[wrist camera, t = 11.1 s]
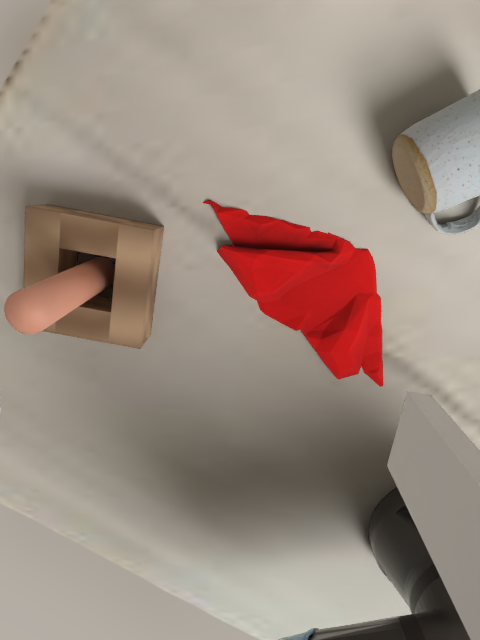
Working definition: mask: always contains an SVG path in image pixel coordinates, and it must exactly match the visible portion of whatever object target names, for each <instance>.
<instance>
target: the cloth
mask: <svg viewBox="0 0 480 640" xmlns="http://www.w3.org/2000/svg"><path fill="white" fill-rule="evenodd" d="M203 203H206V204H211V206H212V207H213V208H214V210H215V212H216V214H217V216H218V218H219V220H220V222H221V224H222V225H223V227H224V229H225V231H226V233H227V234H228V236H229V238H230V239H231V241H232V242H233V244H234V245H235V246H232V245H224V246H222V247H221V248H220V249H219V250H218V251H217V252H218V253H219V255H220V256H221V257H222V258H223V260H224V261H225V262H226V263H227V264H228V266H229V267H230V268H231V270H232V271H233V273H234V274H235V276H236V277H237V279H238V280H239V282H240V283H241V285H242V286H243V287H244V289H245V290H246V292H247V293H248V295H249V296H250V297H252V298H253V299H255V300H257V302H258V305H259V308H260V310H261V311H262V312H263V313H264V314H266V315H268V316H269V317H271V318H273V319H275V320H277V321H279V322H280V323H282V324H284V325H286V326H288V327H290V328H292V329H294V330H296V331H297V330H301V331H302V332H303V334H304V336H305V337H306V338H307V340H308V341H309V342H310V344H311V345H312V347H313V348H314V349H315V351H316V352H317V353H318V355H319V356H320V358H321V359H322V360H323V362H324V363H325V364H326V366H327V367H328V368H329V369H330V370H331V372H332V373H333V374H334V375H335V376H336V378H338V379H341V378H345V377H349V376H352V375H356V374H358V373H359V370H360V368H361V366H362V368H363V371H364V373H365V374H367V375H368V376H369V377H370V378H371V379H372V380H373V381H375V382H376V383H377V384H378V385H379V386H380V387H381V386H383V362H382V325H381V298H380V296H379V295H378V294H377V287H376V269H375V264H374V260H373V257H372V256H371V254H370V252H369V250H368V249H357V248H355V247H354V246H353V245H352V244H351V243H350V242H349V241H346V240H344V239H342V238H339V237H337V236H335V235H332V234H330V233H328V234H327V233H323V232H320V231H313V232H311V230H310V227H306V226H302V225H297V224H293V223H289V222H287V221H284V220H277V219H273V218H270V217H267V216H259V215H249V214H248V212H247V211H245V210H239V209H234V208H225V207H221V206H220V205H218V204H217V203H215V202H212V201H210V200H208V201H204V202H203Z"/></svg>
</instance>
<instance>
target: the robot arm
mask: <svg viewBox="0 0 480 640" xmlns="http://www.w3.org/2000/svg"><path fill="white" fill-rule="evenodd" d="M0 411H1V408H0ZM387 467H388V469H389V471H390V473H391V475H392V477H393V479H394V481H395V483H396V486H397V488H396V489H395V490H393V491H392V492H391V493H389V494H388V495H387V496H386V497H385V498H384V499H383V500H382V501H381V502H380V504H379V505H378V506H377V508H376V509H375V511H374V513H373V515H372V518H371V521H370V525H369V540H370V544H371V547H372V550H373V553H374V556H375V559H376V562H377V564H378V566H379V568H380V569H381V571H382V572H383V573H384V575H385V576H386V577H387V578H388V579H389V580H390V581H391V582H392V584H393V585H394V587H395V588H396V589H397V591H398V592H399V594H400V595H401V596H402V598H403V599H404V600H405V602H406V603H407V605H408V606H409V607H410V610H411V612H412V614H411V615H405V616H400V617H398V616H397V617H391V618H386V619H380V620H374V621H369V622H363V623H357V624H352V625H346V626H340V627H333V628H326V629H320V630H319V629H318V628H314V629H313V628H312V629H310V630H309V631H308V632H305V633H302V634H298V635H294V636H290V637H285V638H282V639H279V640H480V450H479V449H478V448H477V447H476V446H475V445H474V443H473V442H472V441H471V440H470V439H469V438H468V437H467V435H466V434H465V433H464V432H463V431H462V430H461V429H460V428H459V426H458V425H457V424H456V423H455V422H454V421H453V420H452V418H451V417H450V416H449V415H448V414H447V413H446V412H445V410H444V409H443V408H442V407H441V406H440V405H439V404H438V402H437V401H436V400H435V399H434V398H433V397H432V396H431V395H427V394H419V393H412V392H407V394H406V398H405V401H404V405H403V409H402V412H401V416H400V420H399V423H398V427H397V431H396V434H395V438H394V442H393V445H392V449H391V453H390V456H389V460H388V464H387Z"/></svg>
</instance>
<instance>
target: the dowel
mask: <svg viewBox="0 0 480 640" xmlns="http://www.w3.org/2000/svg"><path fill="white" fill-rule="evenodd" d="M114 275H115V266H114V264H113V263H112V262H111V261H110V260H109V259H107V258H104V257H96V258H94V259H91V260H89V261H87V262H84V263H82V264H80V265H77V266H75V267H73V268H70V269H68V270H66V271H63V272H61V273H59V274H56V275H54V276H52V277H49V278H47V279H45V280H42V281H40V282H38V283H36V284H33V285H31V286H29V287H26V288H24V289H22V290H19V291H17V292H15V293H13V294H11V295H10V296H9V297H8V298H7V300H6V303H5V307H4V310H5V316H6V318H7V320H8V322H9V323H10V324H11V326H12V327H13V328H15V329H16V330H18V331H19V332H22V333H25V334H36V333H39V332H41V331H43V330H44V329H46V328H47V327H49V326H50V325H52V324H53V323H55V322H56V321H58V320H59V319H61V318H62V317H64V316H65V315H67V314H68V313H70V312H71V311H73V310H74V309H76V308H77V307H79V306H80V305H82V304H83V303H85V302H86V301H88V300H89V299H91V298H92V297H94V296H95V295H97V294H98V293H100V292H101V291H103V290H104V289H106V288H107V287H109V286H110V285H112V284H113V283H114Z"/></svg>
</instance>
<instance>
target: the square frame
mask: <svg viewBox="0 0 480 640" xmlns="http://www.w3.org/2000/svg"><path fill="white" fill-rule="evenodd" d="M163 229H164V226H159V225H154V224H149V223H143V222H138V221H133V220H127V219H122V218H117V217H111V216H106V215H101V214H95V213H90V212H85V211H80V210H74V209H69V208H64V207H58V206H53V205H36V206H26V211H25V254H24V288H26V287H29V286H31V285H33V284H36V283H38V282H40V281H42V280H45V279H47V278H49V277H52V276H54V275H56V274H59V273H61V272H63V271H66V270H68V269H70V268H73V267H75V266H76V263H77V251H78V252H84V253H89V254H94V255H100V256H105V257H111V258H116V264H115V275H114V286H113V297H112V299H110V298H104V297H99V296H94V297H92V298H91V299H89V300H88V301H86V302H85V303H83V304H82V305H80V306H79V307H77V308H76V309H74V310H73V311H71V312H70V313H68V314H67V315H65V316H64V317H62V318H61V319H59V320H58V321H56V322H55V323H53V324H52V325H50V326H49V327H47V328H46V329H44V330H43V331H45V332H51V333H56V334H62V335H67V336H73V337H78V338H84V339H89V340H95V341H100V342H106V343H111V344H117V345H122V346H128V347H133V348H139V349H140V348H141V347H142V346H143V344H144V343H145V341H146V340H147V339H148V337H149V336H150V335H151V327H152V319H153V311H154V302H155V294H156V286H157V278H158V270H159V262H160V254H161V246H162V237H163Z"/></svg>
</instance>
